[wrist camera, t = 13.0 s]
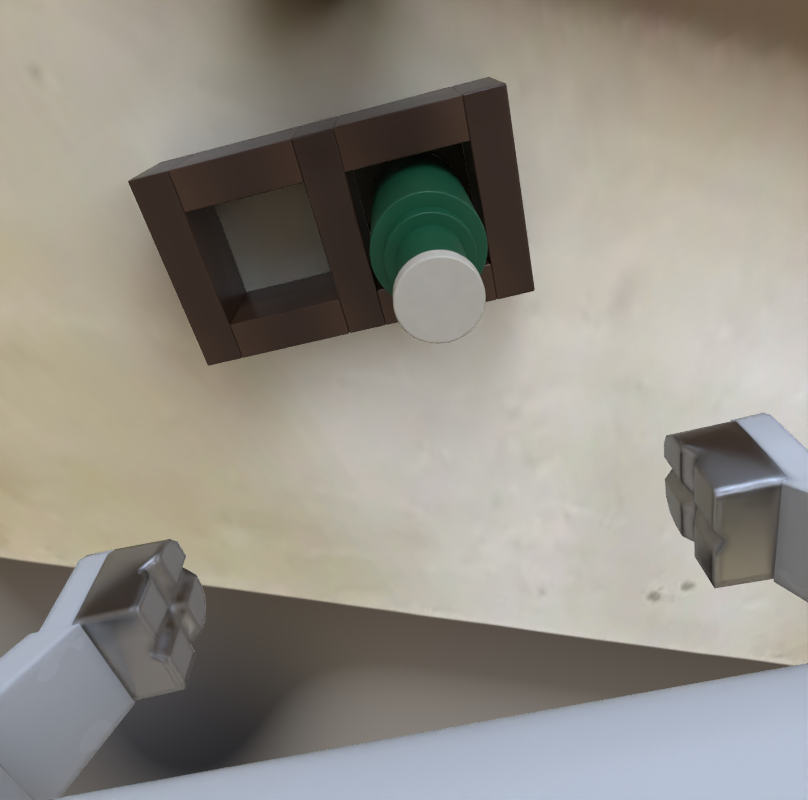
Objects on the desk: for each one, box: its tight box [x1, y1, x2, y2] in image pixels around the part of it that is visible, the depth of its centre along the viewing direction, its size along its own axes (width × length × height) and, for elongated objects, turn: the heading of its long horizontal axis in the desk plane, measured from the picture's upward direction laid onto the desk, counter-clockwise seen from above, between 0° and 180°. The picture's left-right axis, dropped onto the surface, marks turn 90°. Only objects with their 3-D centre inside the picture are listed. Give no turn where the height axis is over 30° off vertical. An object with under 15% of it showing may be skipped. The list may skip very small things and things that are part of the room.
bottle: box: [370, 152, 488, 343], centre depth 29 cm, size 5×5×16 cm
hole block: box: [128, 77, 534, 365], centre depth 34 cm, size 18×10×5 cm, turn 103°
